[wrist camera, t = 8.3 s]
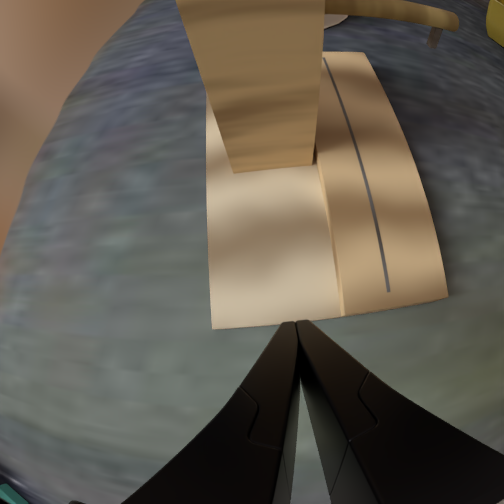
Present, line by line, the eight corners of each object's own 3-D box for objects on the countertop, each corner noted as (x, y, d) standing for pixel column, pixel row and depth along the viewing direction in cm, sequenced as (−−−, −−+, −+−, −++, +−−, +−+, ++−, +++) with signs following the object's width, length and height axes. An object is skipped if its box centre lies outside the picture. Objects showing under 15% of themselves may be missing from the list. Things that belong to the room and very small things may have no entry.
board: (432, 301, 19) (448, 296, 17) (215, 329, 20) (206, 328, 18) (360, 69, 26) (363, 52, 23) (209, 81, 27) (203, 64, 25)
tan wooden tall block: (420, 160, 21) (513, -21, 4) (233, 173, 22) (154, -60, 5) (395, 100, 23) (441, -66, 6) (230, 108, 24) (178, -80, 7)
